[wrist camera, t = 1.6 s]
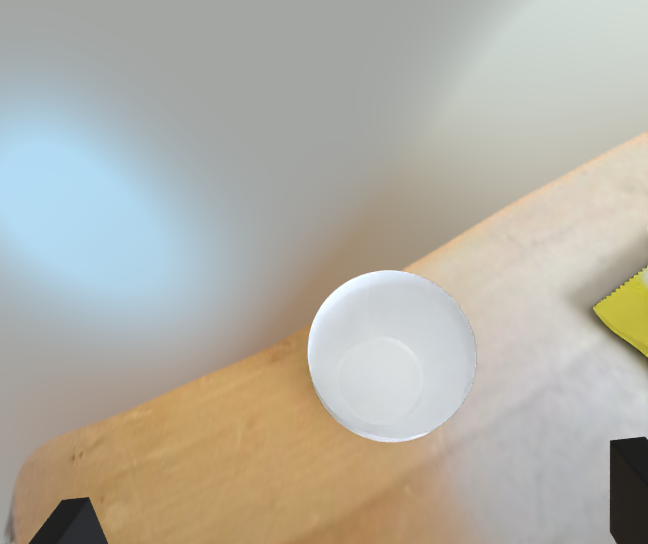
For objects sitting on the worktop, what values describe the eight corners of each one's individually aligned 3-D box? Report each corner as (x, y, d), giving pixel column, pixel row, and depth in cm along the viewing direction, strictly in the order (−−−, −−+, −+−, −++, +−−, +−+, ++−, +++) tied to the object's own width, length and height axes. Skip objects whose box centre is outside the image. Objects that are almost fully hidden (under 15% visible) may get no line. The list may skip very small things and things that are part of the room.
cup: (334, 454, 33) (323, 460, 22) (310, 335, 37) (289, 287, 25) (455, 427, 33) (506, 419, 22) (420, 310, 37) (449, 251, 25)
